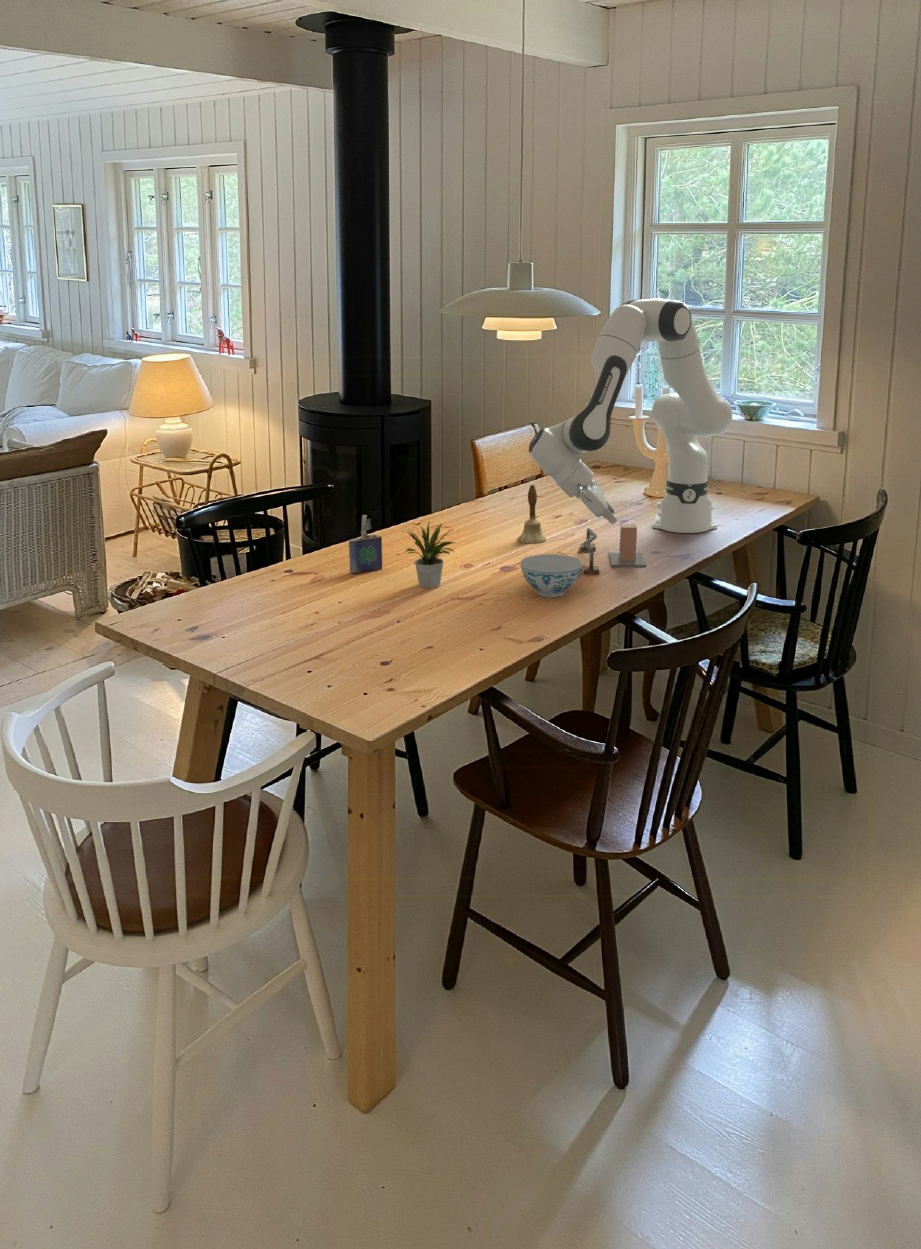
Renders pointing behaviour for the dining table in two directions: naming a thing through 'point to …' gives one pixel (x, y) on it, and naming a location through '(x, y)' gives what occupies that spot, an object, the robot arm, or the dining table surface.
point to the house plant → (429, 557)
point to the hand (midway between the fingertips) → (613, 517)
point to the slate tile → (617, 563)
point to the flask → (365, 553)
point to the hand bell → (532, 522)
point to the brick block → (628, 542)
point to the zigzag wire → (591, 548)
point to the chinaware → (551, 573)
